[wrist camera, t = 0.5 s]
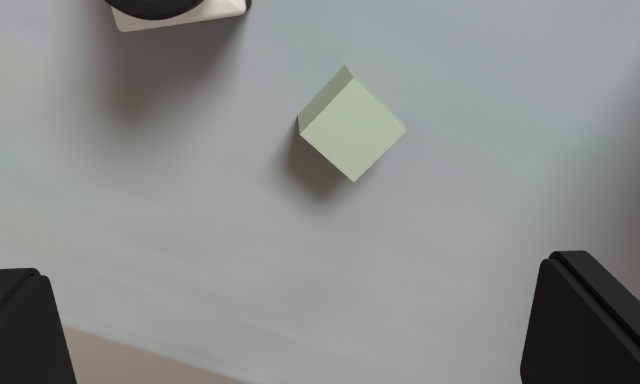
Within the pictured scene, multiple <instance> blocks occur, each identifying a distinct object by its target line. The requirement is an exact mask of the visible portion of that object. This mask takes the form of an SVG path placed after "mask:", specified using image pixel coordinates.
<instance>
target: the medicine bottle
mask: <svg viewBox="0 0 640 384" xmlns="http://www.w3.org/2000/svg"><path fill="white" fill-rule="evenodd" d="M105 1H106V2H107V3H108V4H110V5H111V8H112V11H113V15H114V18H115V22H116V25H117V28H118V29H119V30H120V31H122V32H130V31H137V30H144V29H151V28H157V27H164V26H171V25H178V24H184V23H191V22H198V21H205V20H211V19H218V18H225V17H232V16H238V15H242V14H244V13H245V12H246V11H247V10H248V9H249V8H250V6H251V5H252V0H105Z"/></svg>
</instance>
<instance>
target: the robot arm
mask: <svg viewBox="0 0 640 384" xmlns="http://www.w3.org/2000/svg"><path fill="white" fill-rule="evenodd" d="M520 375H521V380H522V383H523V384H640V301H639V300H638V299H637V298H636V297H634V296H633V295H632V294H631V293H630V292H629V291H628V290H627V289H626V288H625V287H624V286H623V285H622V284H621V283H620V282H619V281H618V280H617V279H616V278H615V277H613V276H612V275H611V274H610V273H609V272H608V271H607V270H606V269H605V268H604V267H603V266H602V265H601V264H600V263H599V262H598V261H597V260H596V259H595V258H594V257H592V256H591V255H590V254H589V253H588V252H586V251H582V250H580V251H554V252H553V253H551V255H550V256H549V258H548V259H544V260H543V261H542V262H541V264H540V268H539V273H538V278H537V283H536V289H535V294H534V299H533V304H532V309H531V314H530V319H529V324H528V330H527V335H526V340H525V345H524V350H523V355H522V360H521V365H520ZM0 384H77V383H76V379H75V375H74V371H73V367H72V363H71V359H70V356H69V352H68V348H67V345H66V340H65V337H64V333H63V329H62V325H61V321H60V317H59V313H58V310H57V306H56V302H55V298H54V294H53V291H52V287H51V283H50V280H49V278H48V277H47V276H45V275H40V273H39V271H38V270H37V269H35V268H16V269H0Z"/></svg>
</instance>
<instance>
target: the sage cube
mask: <svg viewBox="0 0 640 384" xmlns="http://www.w3.org/2000/svg"><path fill="white" fill-rule="evenodd" d="M297 116H298V124H299V133H300V135H301V136H302V137H303V138H304V139H305V140H306V141H308V142H309V143H310V144H311V145H312V146H313V147H314V148H315V149H317V150H318V151H319V152H320V153H321V154H322V155H323V156H325V157H326V158H327V159H328V160H329V161H330V162H331V163H332V164H334V165H335V166H336V167H337V168H338V169H339V170H340V171H341V172H343V173H344V174H345V175H346V176H347V177H348V178H349V179H351V180H352V181H353V182H355V181H356V180H357V179H358V178H359V177H360V176H361V175H362V174H363V173H364V172H365V171H366V170H367V169H368V168H369V167H370V166H371V165H372V164H373V163H374V162H375V161H376V160H377V159H378V158H379V157H380V156H381V155H382V154H383V153H384V152H385V151H386V150H387V149H388V148H389V147H390V146H392V145H393V144H394V143H395V142H396V141H397V140H398V139H399V138H400V137H401V136H402V135H403V134H404V133H405V132H406V131H407V129H406V127H405V126H404V125H403V124H402V123H401V121H400V120H399V119H398V118H397V116H396V115H395V114H394V113H393V111H392V110H391V109H389V108H388V107H387V106H386V105H385V104H384V103H383V102H382V101H381V100H380V99H379V98H378V97H377V96H376V95H375V94H374V93H373V92H372V91H371V90H370V89H369V88H368V87H367V86H366V85H365V84H364V83H363V82H362V81H361V80H360V79H359V78H358V77H357V76H356V75H355V74H354V73H353V72H352V71H351V70H350V69H349V68H348V67H347V66H346V65H344V66H343V67H342V68H341V69H340V70H339V72H338V73H337V74H336V75H335V76H334V77H333V78H332V79H331V80H330V81H329V82H328V83H327V84H326V85H325V86H324V87H323V89H322V90H321V91H320V92H319V93H318V94H317V95H316V96H315V97H314V98H313V99H312V100H311V101H310V102H309V103H308V105H307V106H306V107H305V108H304V109H303V110H302V111H301V112H300V113H299V114H298V115H297Z"/></svg>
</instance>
